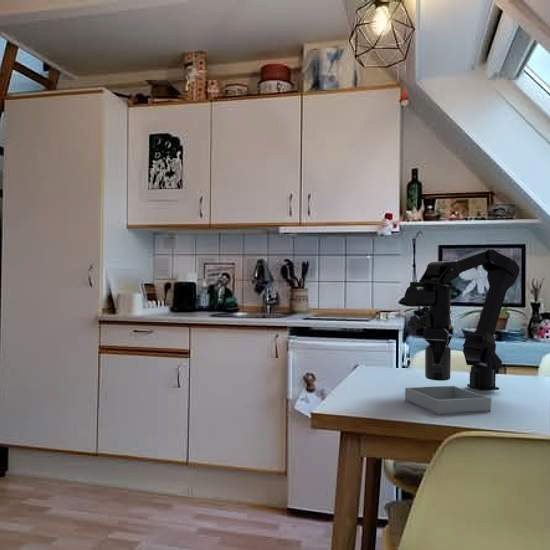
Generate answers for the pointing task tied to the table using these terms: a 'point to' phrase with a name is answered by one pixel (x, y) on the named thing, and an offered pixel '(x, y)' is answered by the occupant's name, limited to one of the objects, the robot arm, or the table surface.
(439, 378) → the supplement bottle
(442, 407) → the tub
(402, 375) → the table surface
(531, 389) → the table surface
